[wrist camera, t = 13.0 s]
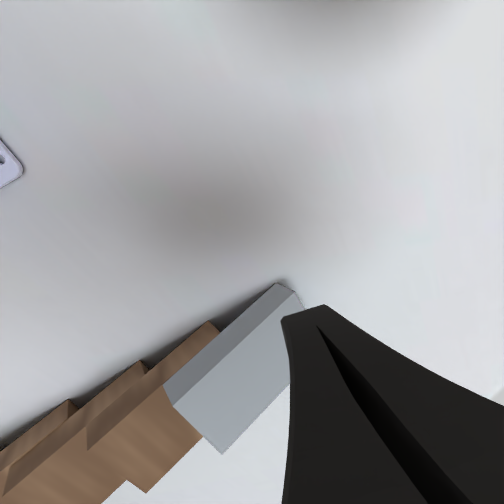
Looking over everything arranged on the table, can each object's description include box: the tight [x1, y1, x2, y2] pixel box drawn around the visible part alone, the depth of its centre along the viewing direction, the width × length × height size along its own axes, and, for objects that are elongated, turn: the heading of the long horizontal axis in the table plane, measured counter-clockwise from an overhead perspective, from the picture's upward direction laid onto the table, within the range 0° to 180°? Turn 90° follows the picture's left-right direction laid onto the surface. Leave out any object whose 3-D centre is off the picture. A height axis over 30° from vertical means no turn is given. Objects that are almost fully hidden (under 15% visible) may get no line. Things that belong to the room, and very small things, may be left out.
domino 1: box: [0, 399, 80, 504], centre depth 20 cm, size 2×5×9 cm
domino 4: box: [163, 283, 305, 454], centre depth 19 cm, size 2×5×9 cm
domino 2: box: [2, 360, 150, 504], centre depth 20 cm, size 2×5×9 cm
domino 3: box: [86, 321, 220, 493], centre depth 19 cm, size 2×5×9 cm
